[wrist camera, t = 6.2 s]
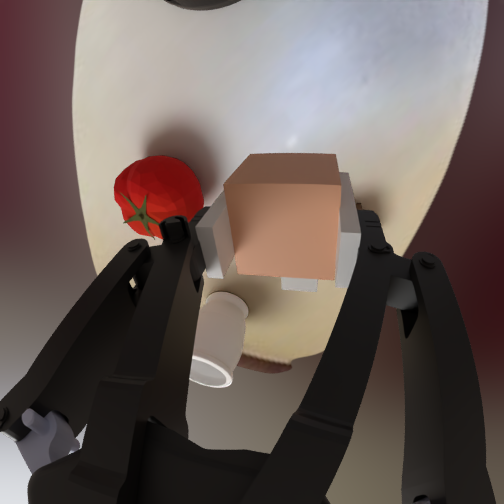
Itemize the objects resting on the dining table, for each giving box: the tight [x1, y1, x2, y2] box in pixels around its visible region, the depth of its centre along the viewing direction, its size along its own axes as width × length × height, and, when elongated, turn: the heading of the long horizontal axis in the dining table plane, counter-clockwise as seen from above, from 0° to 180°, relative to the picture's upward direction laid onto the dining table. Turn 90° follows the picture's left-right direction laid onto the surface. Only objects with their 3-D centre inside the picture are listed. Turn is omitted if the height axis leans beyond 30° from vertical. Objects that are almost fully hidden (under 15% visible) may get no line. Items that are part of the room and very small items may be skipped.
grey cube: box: [281, 277, 318, 292], centre depth 39 cm, size 5×5×5 cm
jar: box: [189, 292, 248, 388], centre depth 46 cm, size 11×10×15 cm
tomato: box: [114, 155, 204, 240], centre depth 34 cm, size 11×13×10 cm
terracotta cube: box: [223, 153, 341, 280], centre depth 14 cm, size 5×5×5 cm
